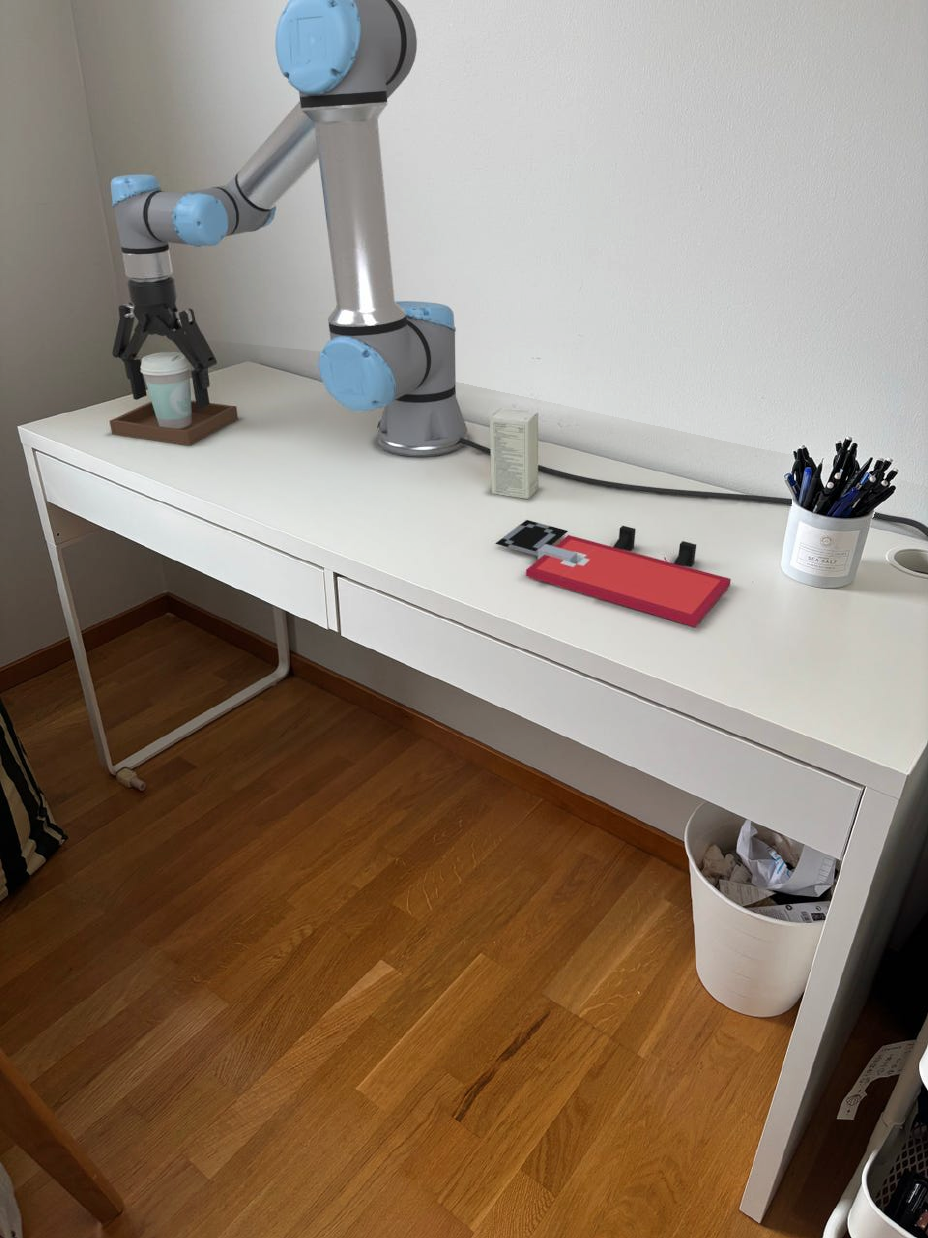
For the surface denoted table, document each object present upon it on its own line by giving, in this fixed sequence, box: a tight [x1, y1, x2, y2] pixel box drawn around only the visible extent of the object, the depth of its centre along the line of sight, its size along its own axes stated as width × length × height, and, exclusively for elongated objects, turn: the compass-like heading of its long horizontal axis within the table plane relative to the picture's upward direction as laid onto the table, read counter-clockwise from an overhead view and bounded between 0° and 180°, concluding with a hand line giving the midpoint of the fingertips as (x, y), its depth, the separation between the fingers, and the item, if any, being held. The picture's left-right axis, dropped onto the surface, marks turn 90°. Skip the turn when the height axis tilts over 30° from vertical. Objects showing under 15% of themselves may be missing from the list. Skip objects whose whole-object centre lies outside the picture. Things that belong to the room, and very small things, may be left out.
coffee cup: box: [141, 351, 192, 429], centre depth 169 cm, size 8×8×12 cm
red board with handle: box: [494, 519, 732, 628], centre depth 122 cm, size 30×3×15 cm
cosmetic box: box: [489, 408, 539, 500], centre depth 141 cm, size 6×4×12 cm
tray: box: [109, 400, 239, 447], centre depth 171 cm, size 17×15×2 cm
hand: (171, 401), depth 170 cm, fingers open, 13 cm apart
